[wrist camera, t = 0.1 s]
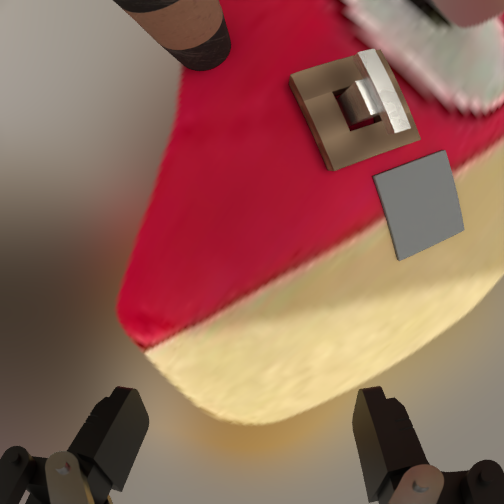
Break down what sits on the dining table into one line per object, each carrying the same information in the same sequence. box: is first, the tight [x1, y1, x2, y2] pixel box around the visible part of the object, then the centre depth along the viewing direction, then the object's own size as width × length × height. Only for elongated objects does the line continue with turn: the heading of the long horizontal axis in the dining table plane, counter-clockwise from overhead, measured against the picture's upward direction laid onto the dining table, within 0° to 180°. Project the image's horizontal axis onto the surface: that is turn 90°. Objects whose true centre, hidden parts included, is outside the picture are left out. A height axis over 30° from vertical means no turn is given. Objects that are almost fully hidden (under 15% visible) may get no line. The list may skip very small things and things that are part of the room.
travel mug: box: [113, 0, 231, 71], centre depth 21 cm, size 8×8×20 cm
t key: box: [336, 49, 411, 135], centre depth 26 cm, size 8×4×12 cm, turn 24°
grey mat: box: [372, 150, 464, 261], centre depth 34 cm, size 12×12×1 cm
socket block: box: [289, 50, 421, 171], centre depth 30 cm, size 12×12×4 cm
